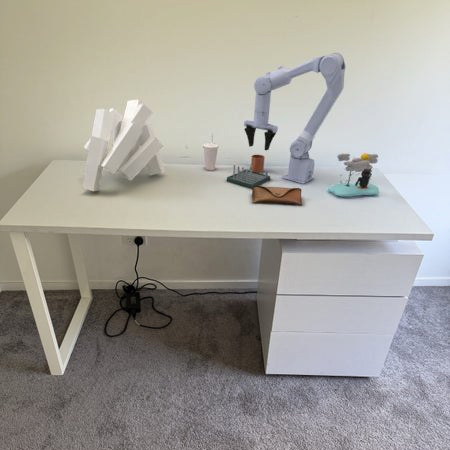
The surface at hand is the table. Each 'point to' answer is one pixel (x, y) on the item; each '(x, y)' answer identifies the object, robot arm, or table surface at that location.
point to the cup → (257, 163)
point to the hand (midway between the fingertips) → (258, 148)
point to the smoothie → (210, 154)
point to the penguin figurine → (363, 182)
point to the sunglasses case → (276, 195)
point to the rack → (248, 178)
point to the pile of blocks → (122, 145)
